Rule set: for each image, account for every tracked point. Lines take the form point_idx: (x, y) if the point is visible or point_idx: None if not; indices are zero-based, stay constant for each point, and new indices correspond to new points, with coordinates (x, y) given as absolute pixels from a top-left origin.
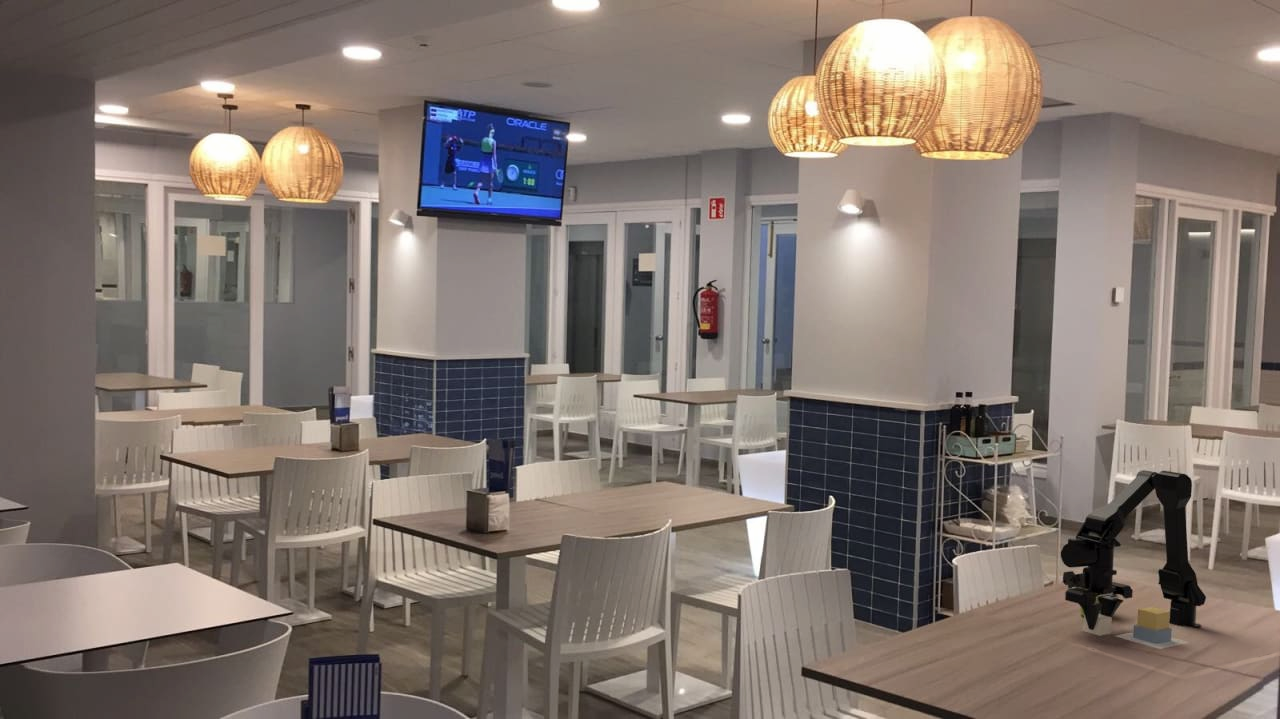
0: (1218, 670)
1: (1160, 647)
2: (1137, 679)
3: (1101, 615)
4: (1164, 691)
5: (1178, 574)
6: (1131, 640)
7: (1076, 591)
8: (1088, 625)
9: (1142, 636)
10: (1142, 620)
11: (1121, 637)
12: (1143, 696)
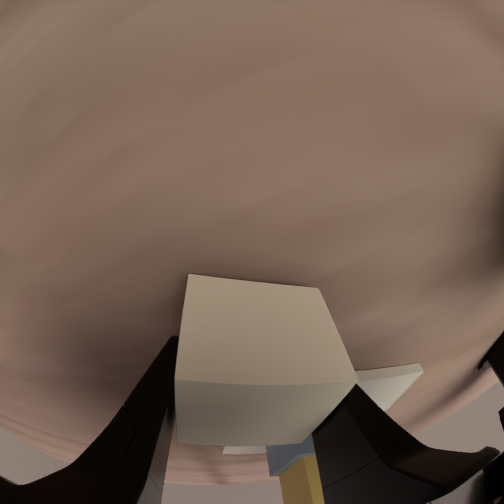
0: (203, 475)
1: (237, 452)
2: (30, 427)
3: (307, 419)
4: (40, 442)
5: None
6: None
7: None
8: (162, 353)
9: None
10: (299, 483)
11: None
12: (8, 426)
